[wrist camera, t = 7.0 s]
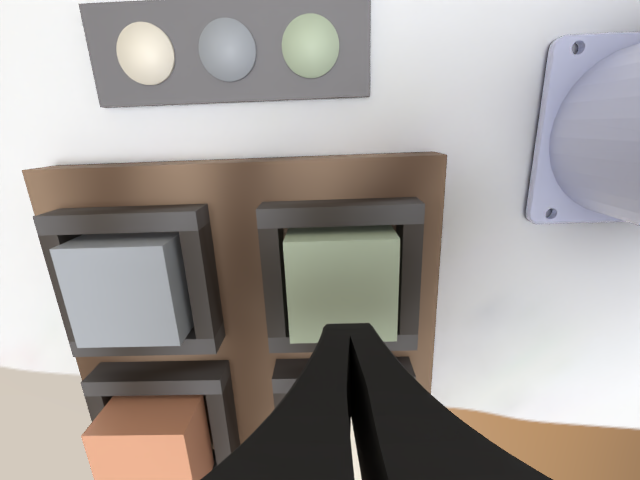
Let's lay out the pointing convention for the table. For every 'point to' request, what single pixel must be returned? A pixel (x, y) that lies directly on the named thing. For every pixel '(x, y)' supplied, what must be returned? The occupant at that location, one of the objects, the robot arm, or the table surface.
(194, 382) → the keypad
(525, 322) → the table surface
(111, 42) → the card
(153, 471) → the key terracotta
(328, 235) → the key sage
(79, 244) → the key slate
